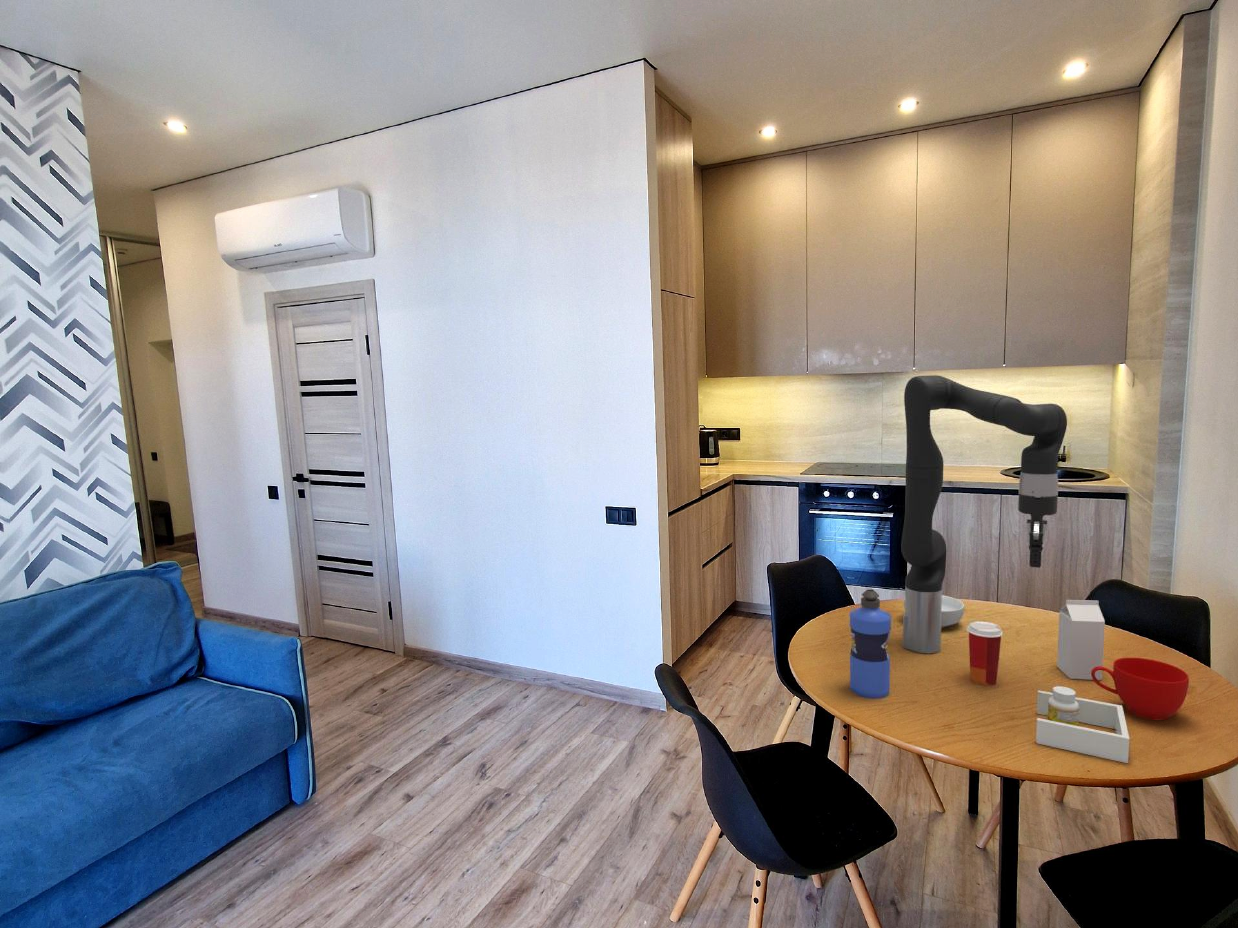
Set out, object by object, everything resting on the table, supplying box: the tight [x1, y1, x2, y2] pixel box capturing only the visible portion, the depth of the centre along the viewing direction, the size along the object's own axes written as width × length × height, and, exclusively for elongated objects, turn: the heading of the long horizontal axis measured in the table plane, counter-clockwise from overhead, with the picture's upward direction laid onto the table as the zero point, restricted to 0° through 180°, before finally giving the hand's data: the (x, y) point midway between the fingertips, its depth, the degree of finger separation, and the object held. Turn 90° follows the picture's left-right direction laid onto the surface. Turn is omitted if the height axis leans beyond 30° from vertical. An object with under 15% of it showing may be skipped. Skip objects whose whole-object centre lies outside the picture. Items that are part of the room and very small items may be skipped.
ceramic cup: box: [1091, 657, 1190, 721], centre depth 147 cm, size 13×17×10 cm
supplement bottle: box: [1047, 685, 1079, 726], centre depth 139 cm, size 5×5×10 cm
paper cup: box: [966, 620, 1004, 687], centre depth 164 cm, size 8×8×14 cm
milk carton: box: [1056, 599, 1106, 681], centre depth 165 cm, size 7×7×19 cm
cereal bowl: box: [903, 594, 965, 629], centre depth 203 cm, size 17×17×7 cm
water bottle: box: [849, 588, 892, 700], centre depth 160 cm, size 9×9×25 cm
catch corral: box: [1035, 690, 1130, 764], centre depth 138 cm, size 15×15×5 cm
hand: (1035, 566), depth 153 cm, fingers closed
